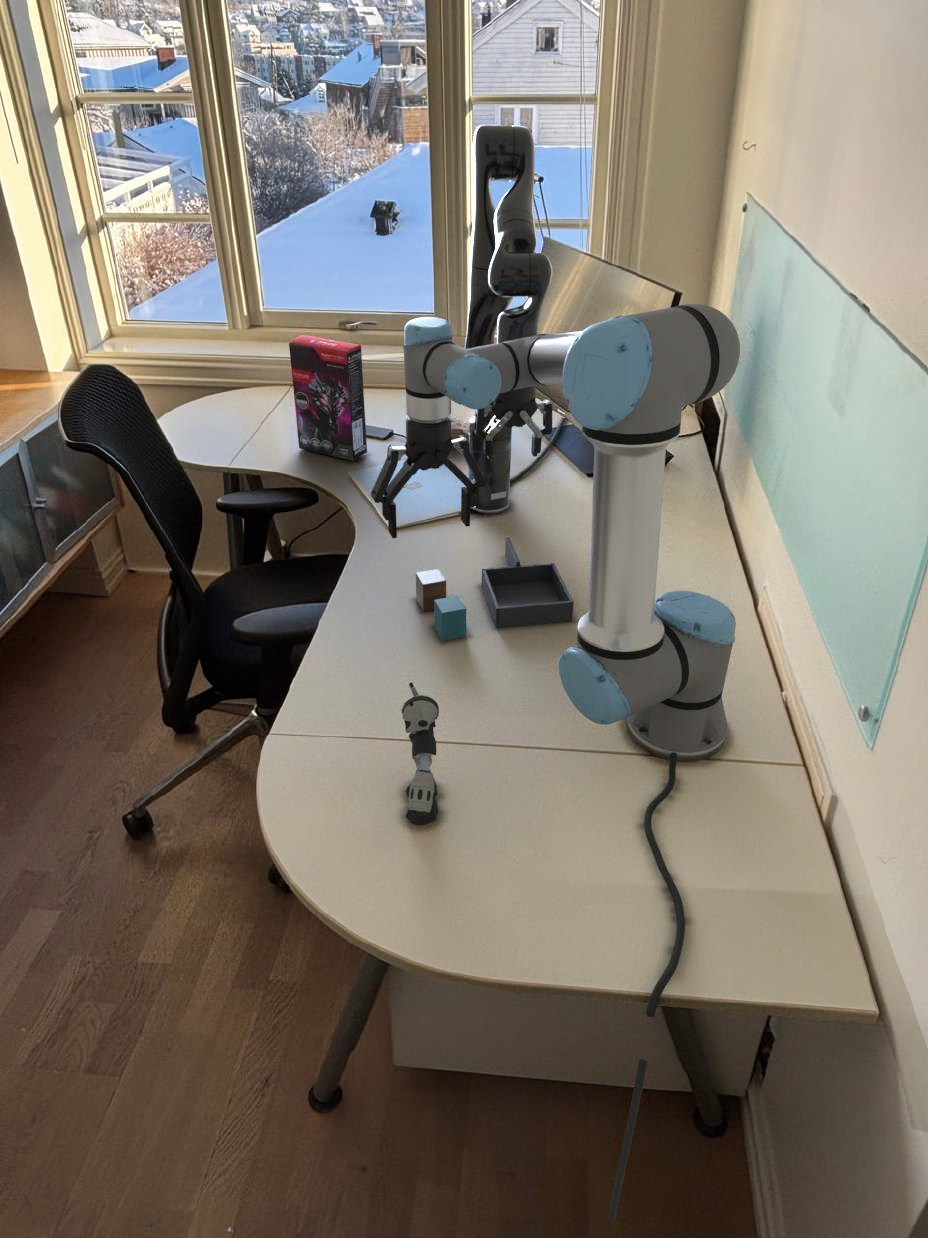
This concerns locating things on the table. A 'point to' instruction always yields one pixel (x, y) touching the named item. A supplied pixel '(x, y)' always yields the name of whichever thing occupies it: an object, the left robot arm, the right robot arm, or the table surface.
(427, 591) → the walnut block
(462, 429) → the stone
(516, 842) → the table surface
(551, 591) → the tray
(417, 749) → the robot
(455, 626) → the teal block
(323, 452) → the graphics card box
